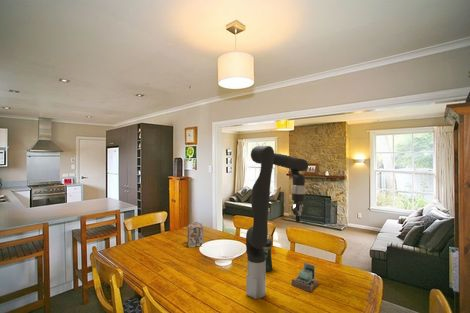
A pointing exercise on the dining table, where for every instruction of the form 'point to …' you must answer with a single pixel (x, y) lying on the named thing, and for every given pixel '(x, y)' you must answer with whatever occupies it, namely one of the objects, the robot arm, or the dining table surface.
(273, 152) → the robot arm
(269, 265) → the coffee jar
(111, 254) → the dining table surface
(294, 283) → the bay
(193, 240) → the decorative jar
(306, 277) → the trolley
